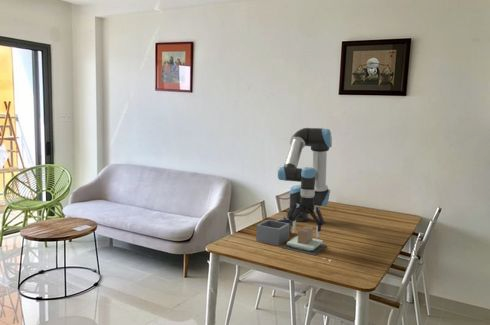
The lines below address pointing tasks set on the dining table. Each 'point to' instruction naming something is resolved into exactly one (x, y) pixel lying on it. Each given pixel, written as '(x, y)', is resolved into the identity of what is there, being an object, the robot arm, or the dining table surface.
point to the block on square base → (305, 240)
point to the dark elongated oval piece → (285, 221)
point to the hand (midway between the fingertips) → (305, 234)
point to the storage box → (272, 232)
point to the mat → (306, 250)
